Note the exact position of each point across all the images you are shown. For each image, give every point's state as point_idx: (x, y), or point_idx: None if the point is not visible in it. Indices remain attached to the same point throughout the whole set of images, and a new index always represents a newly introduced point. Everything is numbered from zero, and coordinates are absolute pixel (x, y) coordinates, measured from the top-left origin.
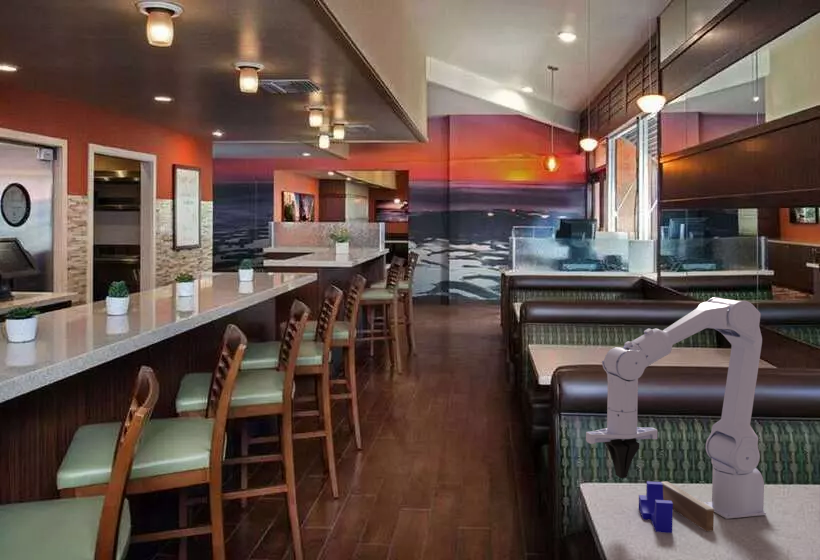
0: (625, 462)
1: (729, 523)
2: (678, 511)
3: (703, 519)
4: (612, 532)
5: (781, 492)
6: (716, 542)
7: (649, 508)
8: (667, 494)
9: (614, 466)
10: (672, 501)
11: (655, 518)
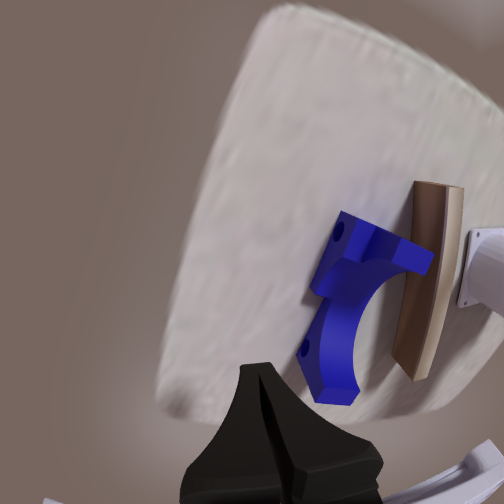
0: (271, 448)
1: (448, 321)
2: None
3: (403, 357)
4: (192, 347)
5: None
6: (371, 393)
7: (344, 279)
8: (431, 221)
9: (237, 388)
10: (423, 242)
11: (307, 365)
